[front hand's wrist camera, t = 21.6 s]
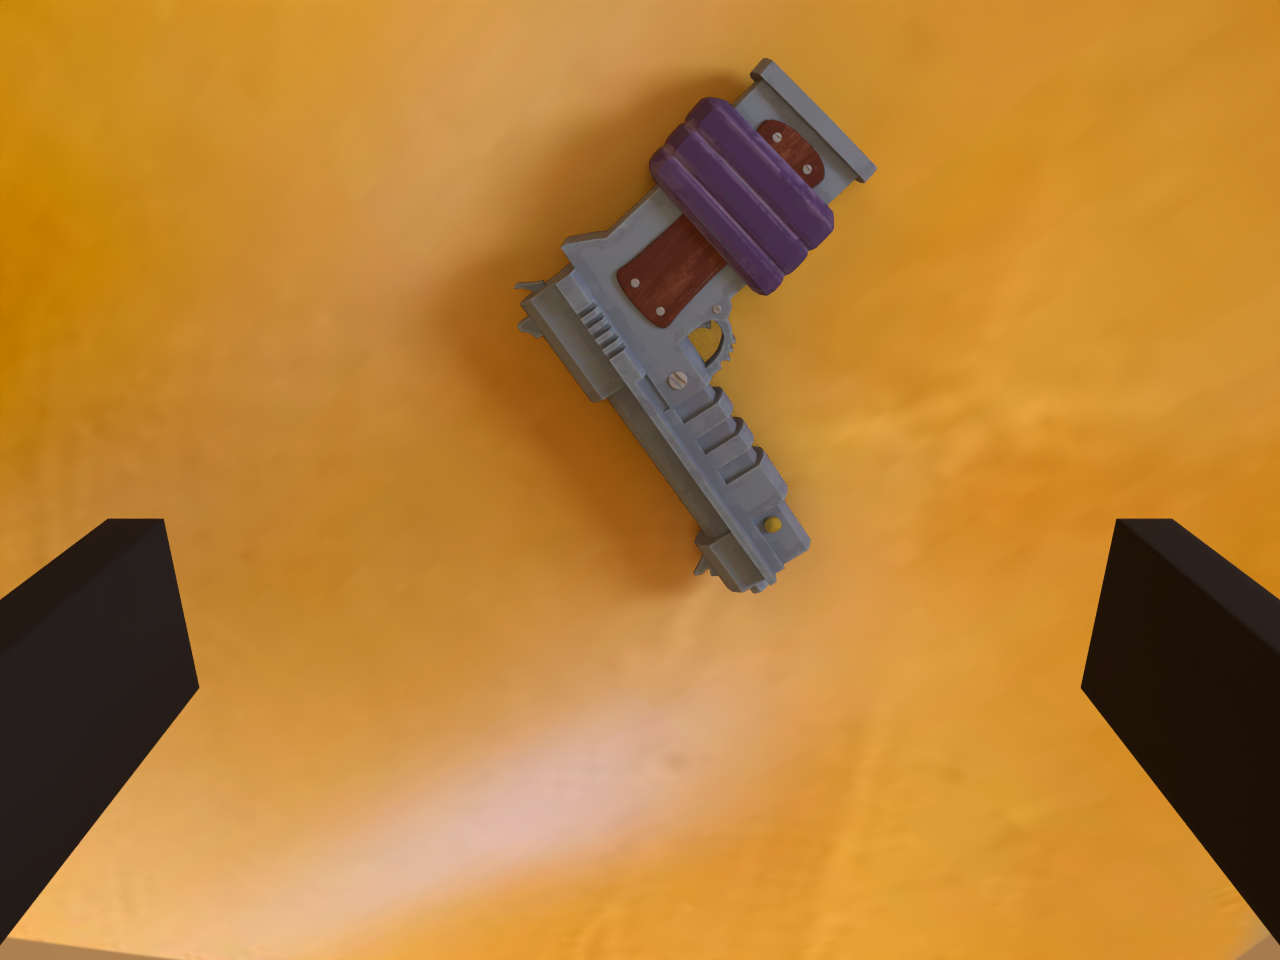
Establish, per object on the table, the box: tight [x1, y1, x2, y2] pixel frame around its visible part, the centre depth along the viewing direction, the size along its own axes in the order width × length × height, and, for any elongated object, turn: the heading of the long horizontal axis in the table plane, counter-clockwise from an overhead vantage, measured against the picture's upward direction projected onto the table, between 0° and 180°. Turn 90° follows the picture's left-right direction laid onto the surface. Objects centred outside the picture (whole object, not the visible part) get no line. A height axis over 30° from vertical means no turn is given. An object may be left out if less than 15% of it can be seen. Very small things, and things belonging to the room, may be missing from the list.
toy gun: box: [514, 58, 877, 593], centre depth 37 cm, size 4×19×15 cm
